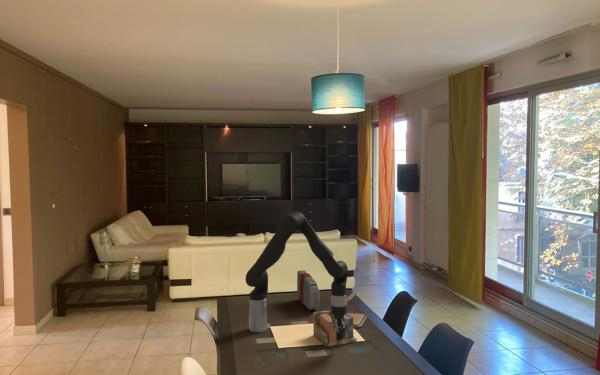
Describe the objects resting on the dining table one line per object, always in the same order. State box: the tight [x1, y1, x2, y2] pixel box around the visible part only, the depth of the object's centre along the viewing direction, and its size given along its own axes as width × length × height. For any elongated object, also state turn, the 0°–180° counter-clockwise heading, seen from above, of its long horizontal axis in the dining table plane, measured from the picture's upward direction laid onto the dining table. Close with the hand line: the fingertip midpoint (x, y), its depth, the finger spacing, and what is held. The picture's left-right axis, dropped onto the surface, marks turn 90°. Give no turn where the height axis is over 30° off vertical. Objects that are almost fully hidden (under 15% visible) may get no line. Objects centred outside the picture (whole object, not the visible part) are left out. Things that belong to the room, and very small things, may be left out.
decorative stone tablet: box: [296, 269, 321, 310], centre depth 283 cm, size 19×6×30 cm
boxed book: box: [320, 314, 336, 342], centre depth 227 cm, size 4×12×10 cm, turn 19°
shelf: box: [312, 309, 358, 347], centre depth 229 cm, size 17×16×12 cm
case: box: [346, 290, 368, 329], centre depth 255 cm, size 20×21×16 cm
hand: (339, 339), depth 214 cm, fingers closed
